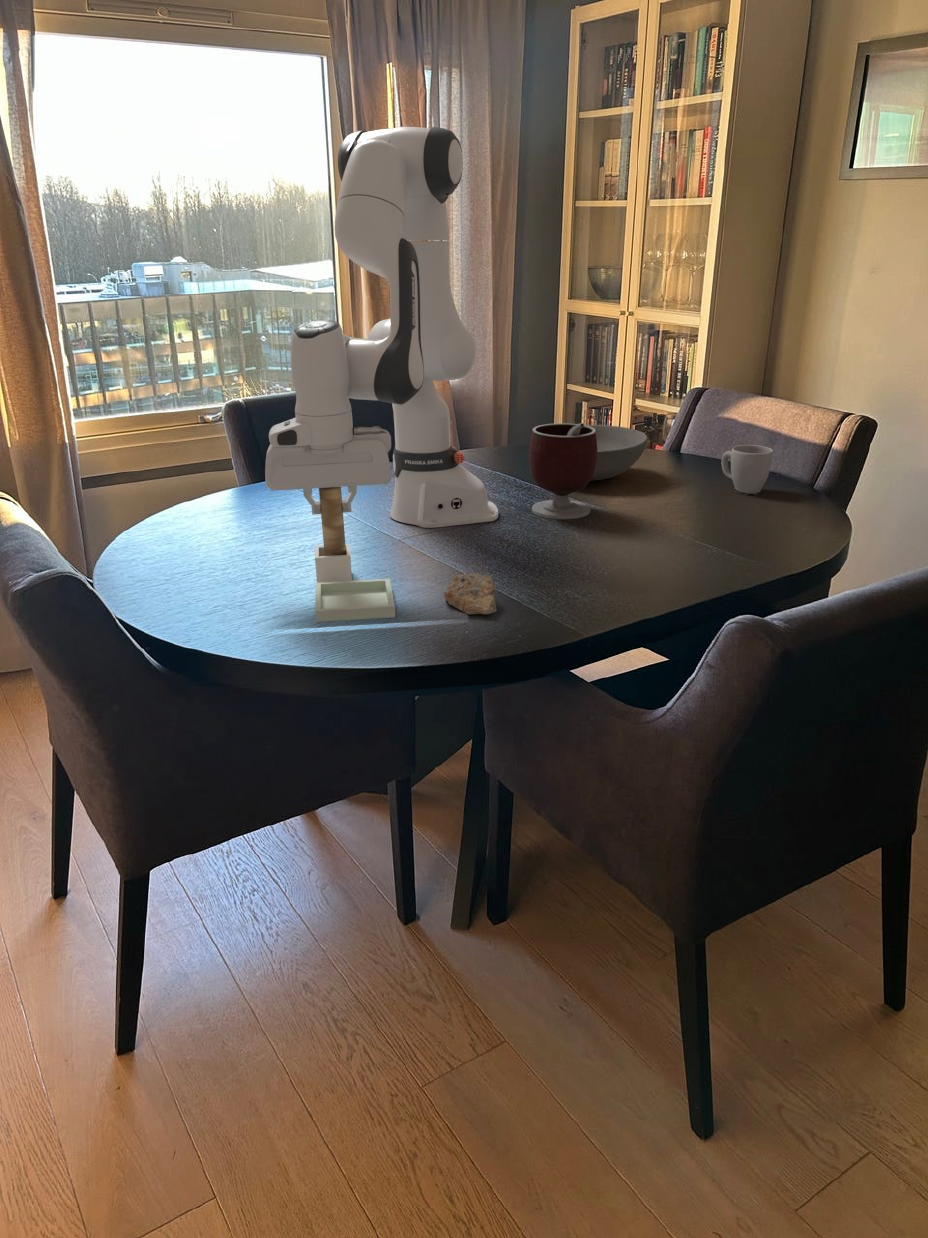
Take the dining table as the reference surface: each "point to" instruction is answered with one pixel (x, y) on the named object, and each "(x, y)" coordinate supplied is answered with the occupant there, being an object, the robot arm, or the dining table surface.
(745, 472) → the mug
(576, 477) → the mate gourd
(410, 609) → the dining table surface
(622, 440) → the bowl
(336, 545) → the dowel
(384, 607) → the tray
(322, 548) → the pen cup
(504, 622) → the dining table surface
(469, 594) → the rock
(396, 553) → the dining table surface
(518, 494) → the dining table surface
